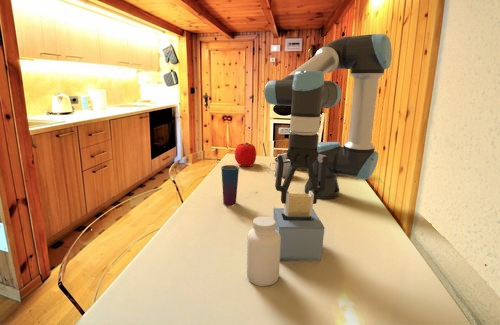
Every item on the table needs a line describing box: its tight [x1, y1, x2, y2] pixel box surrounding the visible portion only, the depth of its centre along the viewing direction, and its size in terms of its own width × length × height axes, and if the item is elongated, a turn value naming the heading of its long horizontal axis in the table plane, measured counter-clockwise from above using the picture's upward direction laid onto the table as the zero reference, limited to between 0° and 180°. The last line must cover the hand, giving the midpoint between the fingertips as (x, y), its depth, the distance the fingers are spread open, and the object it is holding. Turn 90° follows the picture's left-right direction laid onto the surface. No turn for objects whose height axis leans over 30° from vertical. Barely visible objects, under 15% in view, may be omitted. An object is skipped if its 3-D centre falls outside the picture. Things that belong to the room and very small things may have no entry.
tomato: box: [234, 142, 257, 167], centre depth 170 cm, size 16×14×14 cm
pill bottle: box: [246, 216, 281, 287], centre depth 68 cm, size 8×8×15 cm
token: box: [288, 192, 311, 217], centre depth 80 cm, size 6×2×6 cm, turn 92°
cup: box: [221, 164, 240, 207], centre depth 112 cm, size 7×7×15 cm
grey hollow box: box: [272, 207, 325, 262], centre depth 82 cm, size 12×12×10 cm
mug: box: [269, 157, 291, 179], centre depth 152 cm, size 12×10×9 cm
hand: (297, 213), depth 80 cm, fingers closed on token, 6 cm apart
